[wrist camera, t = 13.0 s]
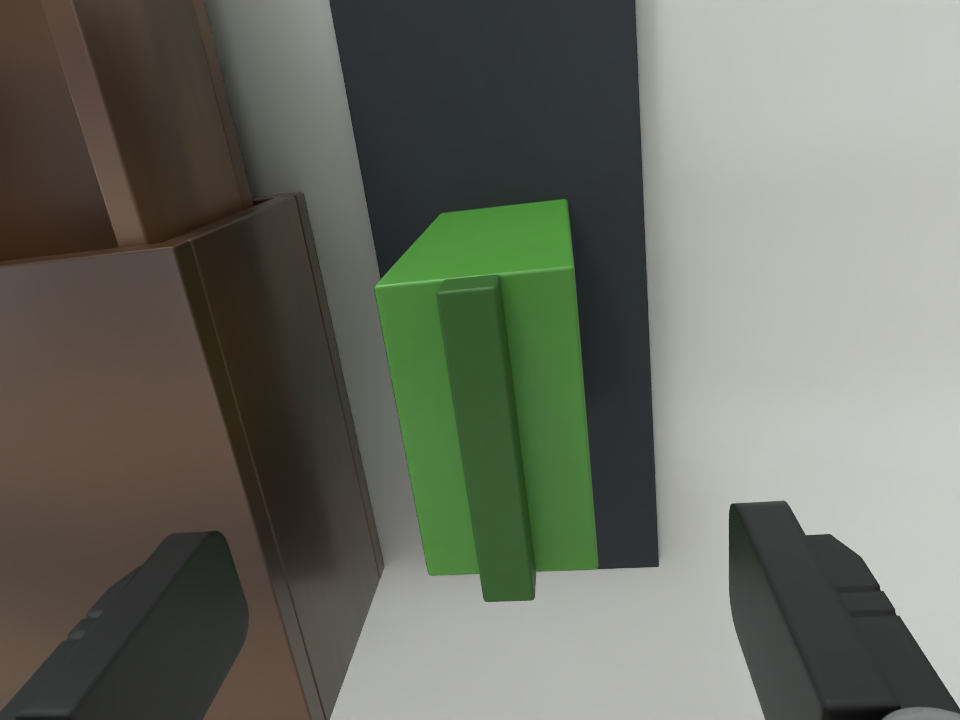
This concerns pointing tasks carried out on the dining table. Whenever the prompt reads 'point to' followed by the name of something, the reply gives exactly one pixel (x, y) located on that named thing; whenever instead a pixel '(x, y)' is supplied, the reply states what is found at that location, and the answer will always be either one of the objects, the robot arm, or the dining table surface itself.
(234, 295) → the cabinet
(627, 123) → the placemat
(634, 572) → the dining table surface
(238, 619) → the robot arm
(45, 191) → the drawer
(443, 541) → the green ridged box
